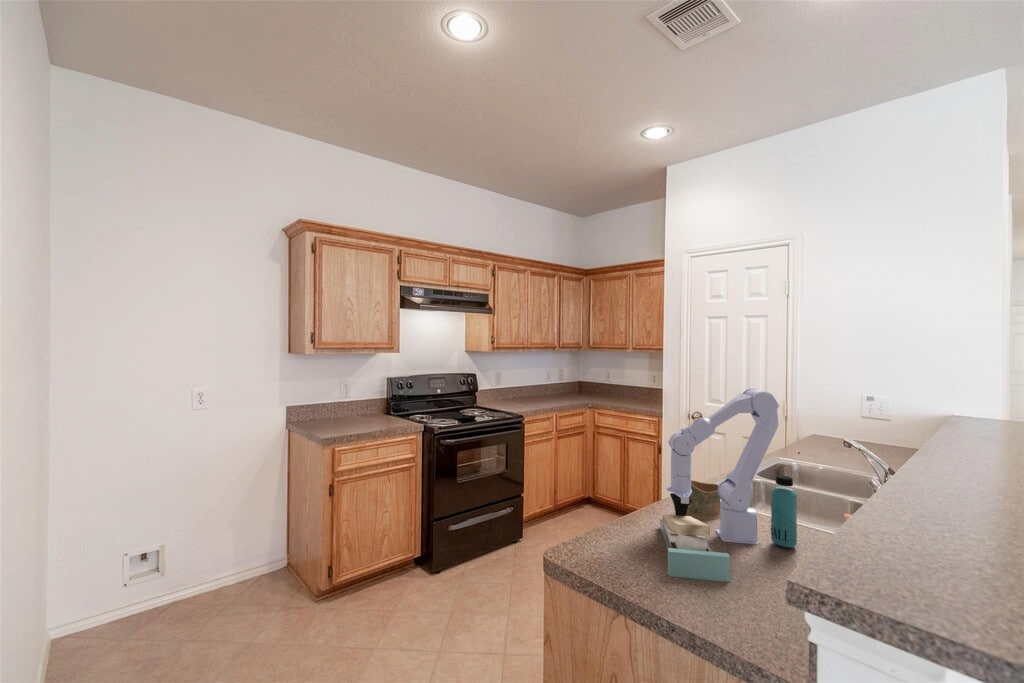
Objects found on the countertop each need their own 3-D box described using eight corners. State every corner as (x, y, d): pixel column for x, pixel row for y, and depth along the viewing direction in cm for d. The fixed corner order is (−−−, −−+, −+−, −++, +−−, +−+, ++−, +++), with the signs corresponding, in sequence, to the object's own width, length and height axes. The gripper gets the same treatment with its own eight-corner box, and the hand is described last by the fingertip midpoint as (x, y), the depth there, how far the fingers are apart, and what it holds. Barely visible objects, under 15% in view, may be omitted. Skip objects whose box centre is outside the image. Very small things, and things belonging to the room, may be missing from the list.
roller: (704, 535, 119) (708, 549, 116) (695, 540, 121) (700, 554, 119) (682, 532, 117) (686, 546, 114) (673, 537, 119) (678, 552, 117)
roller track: (696, 531, 138) (696, 517, 138) (719, 576, 111) (719, 559, 111) (659, 528, 140) (660, 514, 140) (674, 571, 113) (674, 555, 113)
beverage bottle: (794, 544, 129) (794, 474, 129) (800, 554, 123) (801, 481, 123) (768, 541, 131) (768, 472, 131) (773, 551, 125) (773, 478, 125)
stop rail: (727, 577, 110) (727, 553, 110) (730, 582, 108) (730, 557, 108) (667, 571, 113) (667, 547, 113) (668, 576, 111) (669, 551, 111)
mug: (747, 525, 143) (747, 486, 143) (687, 518, 148) (687, 481, 148) (740, 511, 154) (740, 476, 154) (684, 506, 159) (685, 471, 159)
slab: (690, 525, 133) (690, 516, 133) (710, 536, 117) (709, 525, 118) (662, 523, 133) (662, 514, 134) (678, 534, 118) (678, 524, 118)
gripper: (663, 466, 143) (663, 509, 143) (670, 480, 128) (670, 528, 128) (687, 467, 141) (686, 511, 141) (696, 482, 127) (696, 530, 127)
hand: (680, 519), depth 135 cm, fingers closed
